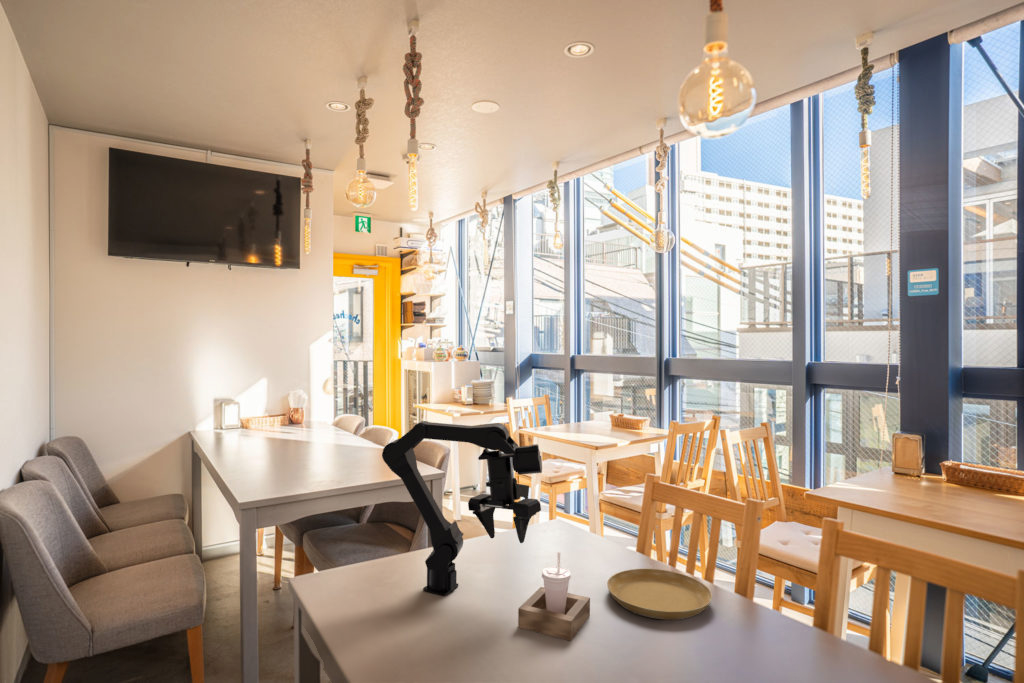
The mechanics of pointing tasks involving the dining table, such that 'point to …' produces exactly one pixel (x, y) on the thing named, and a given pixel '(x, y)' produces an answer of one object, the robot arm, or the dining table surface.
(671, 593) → the plant saucer
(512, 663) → the dining table surface
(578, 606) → the caddy
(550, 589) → the smoothie
